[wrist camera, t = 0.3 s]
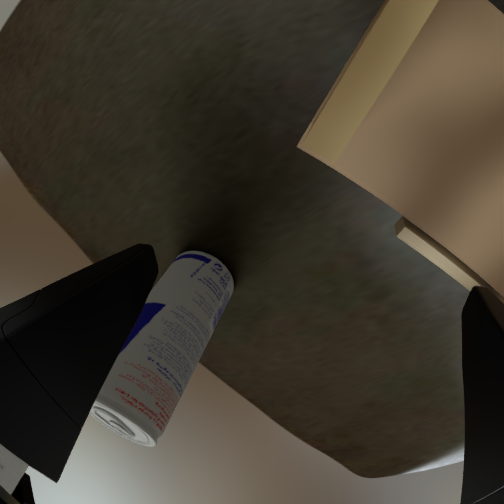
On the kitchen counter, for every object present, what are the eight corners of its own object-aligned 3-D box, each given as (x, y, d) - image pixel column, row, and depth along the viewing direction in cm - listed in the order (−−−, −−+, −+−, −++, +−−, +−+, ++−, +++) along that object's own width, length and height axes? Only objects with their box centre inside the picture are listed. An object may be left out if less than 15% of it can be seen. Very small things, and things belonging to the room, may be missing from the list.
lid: (609, 160, 7) (642, 187, 5) (502, 290, 14) (518, 332, 11) (413, -47, 7) (430, -72, 4) (298, 142, 13) (284, 167, 11)
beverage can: (185, 235, 26) (72, 385, 14) (246, 269, 26) (163, 440, 14) (169, 278, 29) (78, 412, 18) (222, 308, 30) (149, 454, 18)
